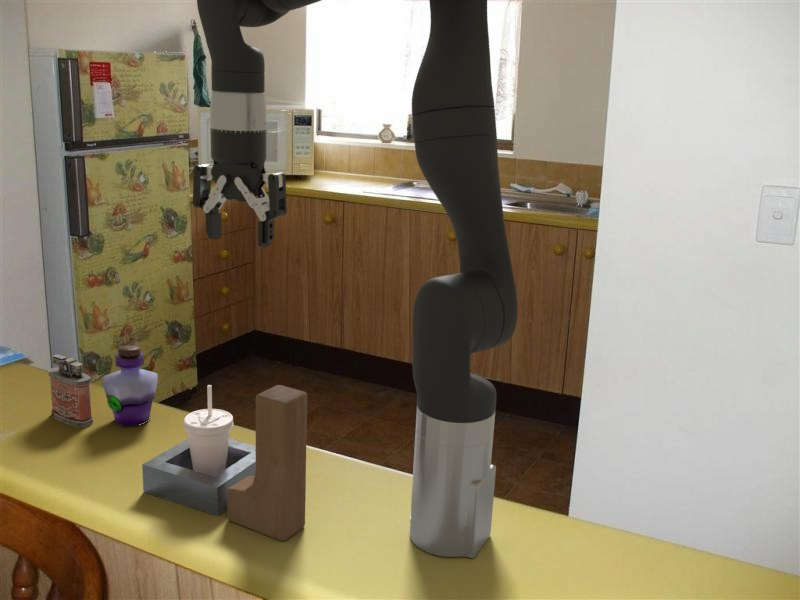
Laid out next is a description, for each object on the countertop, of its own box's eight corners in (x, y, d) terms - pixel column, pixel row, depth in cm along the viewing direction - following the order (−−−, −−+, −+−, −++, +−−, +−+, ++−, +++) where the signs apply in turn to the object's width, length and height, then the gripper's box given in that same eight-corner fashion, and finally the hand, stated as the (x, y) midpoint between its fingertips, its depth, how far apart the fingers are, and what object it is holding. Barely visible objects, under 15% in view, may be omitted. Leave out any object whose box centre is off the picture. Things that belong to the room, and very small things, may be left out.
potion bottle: (93, 428, 129) (88, 354, 125) (117, 406, 137) (114, 336, 134) (147, 433, 128) (145, 359, 125) (169, 411, 136) (167, 340, 133)
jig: (271, 476, 117) (271, 450, 116) (217, 516, 106) (217, 487, 105) (201, 456, 122) (201, 430, 120) (143, 492, 111) (142, 464, 110)
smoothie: (239, 475, 117) (239, 380, 113) (226, 498, 111) (224, 398, 107) (194, 471, 117) (192, 376, 113) (178, 493, 111) (175, 394, 107)
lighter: (98, 422, 131) (95, 361, 128) (80, 429, 128) (76, 367, 126) (64, 409, 135) (60, 349, 132) (46, 415, 132) (41, 355, 130)
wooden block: (226, 520, 105) (224, 385, 100) (249, 505, 109) (249, 374, 104) (283, 543, 101) (285, 403, 96) (306, 526, 105) (308, 391, 100)
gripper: (297, 128, 116) (296, 244, 120) (213, 120, 122) (215, 232, 126) (266, 131, 109) (266, 254, 114) (178, 123, 115) (181, 240, 119)
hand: (239, 242), depth 120 cm, fingers open, 8 cm apart
